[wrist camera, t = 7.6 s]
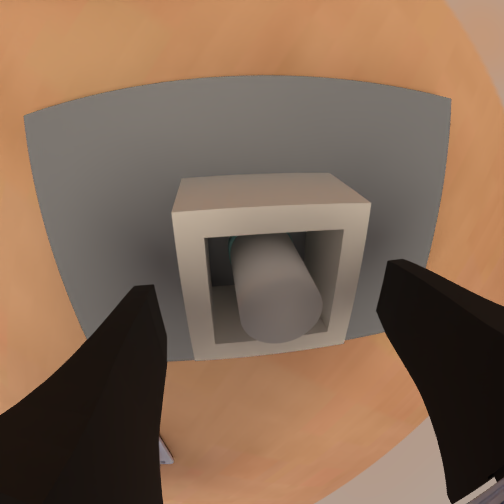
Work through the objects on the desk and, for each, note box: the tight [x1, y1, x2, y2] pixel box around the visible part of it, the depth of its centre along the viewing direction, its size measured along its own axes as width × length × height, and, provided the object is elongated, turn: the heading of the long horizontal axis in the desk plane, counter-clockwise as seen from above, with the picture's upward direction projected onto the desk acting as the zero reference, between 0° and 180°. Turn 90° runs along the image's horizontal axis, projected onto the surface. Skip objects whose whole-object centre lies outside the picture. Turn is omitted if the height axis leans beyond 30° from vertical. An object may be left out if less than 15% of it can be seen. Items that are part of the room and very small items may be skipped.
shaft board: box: [24, 75, 451, 362], centre depth 11 cm, size 18×13×6 cm
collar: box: [171, 173, 371, 361], centre depth 11 cm, size 6×6×4 cm
